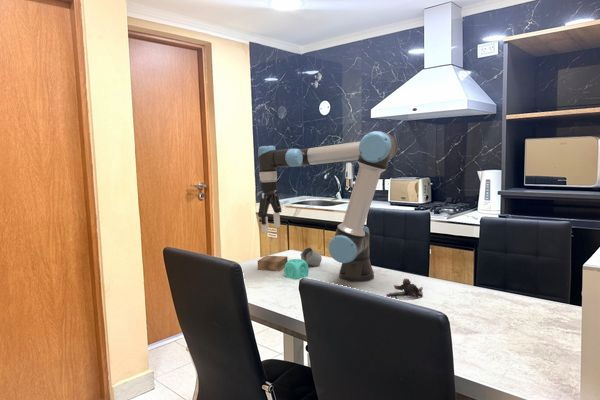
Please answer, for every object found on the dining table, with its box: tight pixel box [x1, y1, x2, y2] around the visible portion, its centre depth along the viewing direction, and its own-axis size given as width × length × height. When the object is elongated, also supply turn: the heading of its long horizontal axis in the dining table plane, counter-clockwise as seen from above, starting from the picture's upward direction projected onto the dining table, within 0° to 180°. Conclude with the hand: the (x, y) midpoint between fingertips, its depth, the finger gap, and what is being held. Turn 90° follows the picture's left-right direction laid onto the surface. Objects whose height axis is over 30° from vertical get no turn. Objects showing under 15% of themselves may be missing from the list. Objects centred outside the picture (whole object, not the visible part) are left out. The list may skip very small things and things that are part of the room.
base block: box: [257, 255, 288, 273], centre depth 207 cm, size 11×11×6 cm
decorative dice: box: [283, 258, 310, 280], centre depth 192 cm, size 8×8×8 cm
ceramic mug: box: [299, 246, 323, 267], centre depth 212 cm, size 11×8×8 cm
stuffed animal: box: [385, 278, 424, 301], centre depth 164 cm, size 12×10×12 cm
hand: (271, 229), depth 189 cm, fingers open, 13 cm apart
